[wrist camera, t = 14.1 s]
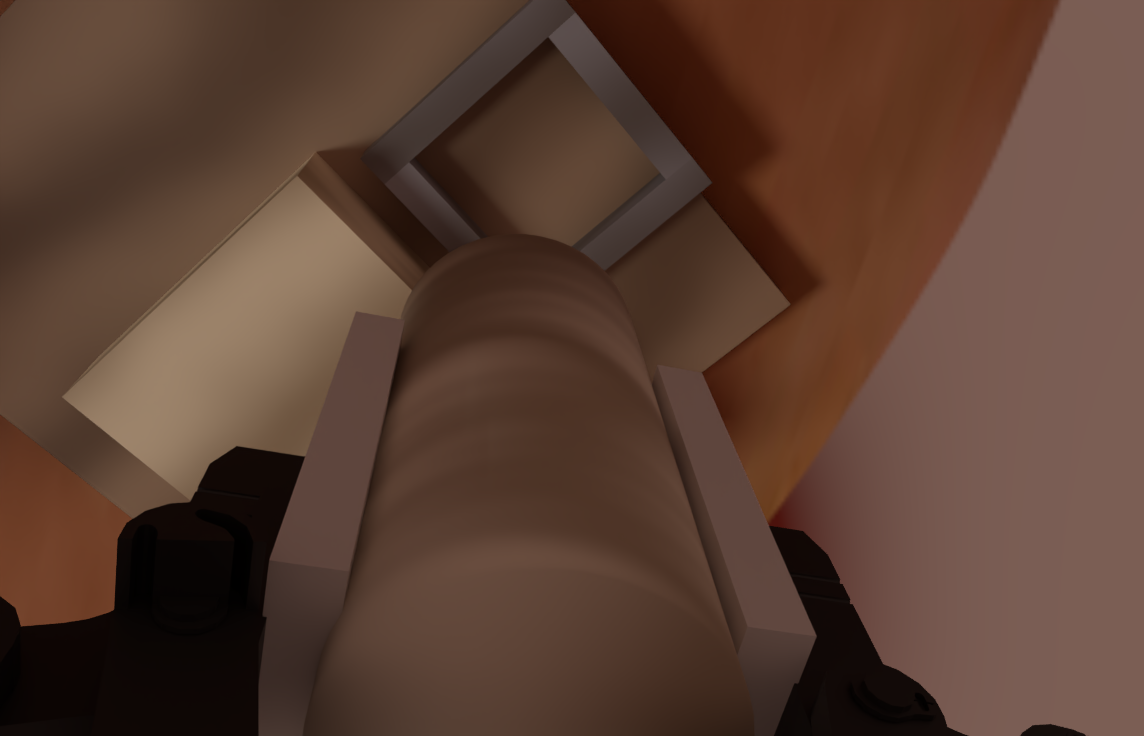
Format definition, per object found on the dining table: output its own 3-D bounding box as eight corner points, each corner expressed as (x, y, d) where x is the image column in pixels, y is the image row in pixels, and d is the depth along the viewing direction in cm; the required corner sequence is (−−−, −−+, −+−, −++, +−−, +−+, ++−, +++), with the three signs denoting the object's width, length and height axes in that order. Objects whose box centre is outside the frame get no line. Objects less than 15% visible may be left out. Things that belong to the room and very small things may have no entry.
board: (-189, 235, 32) (-338, 305, 26) (317, -310, 27) (268, -367, 21) (324, 644, 40) (294, 767, 34) (793, 282, 34) (850, 356, 29)
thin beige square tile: (98, 356, 33) (61, 396, 30) (315, 151, 30) (297, 175, 28) (326, 546, 36) (311, 598, 34) (536, 376, 34) (538, 416, 31)
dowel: (381, 429, 20) (279, 888, 10) (417, 211, 18) (331, 534, 9) (603, 466, 20) (687, 926, 11) (658, 259, 18) (813, 605, 9)
